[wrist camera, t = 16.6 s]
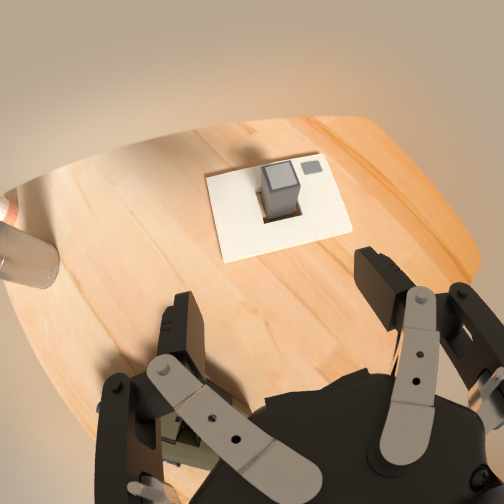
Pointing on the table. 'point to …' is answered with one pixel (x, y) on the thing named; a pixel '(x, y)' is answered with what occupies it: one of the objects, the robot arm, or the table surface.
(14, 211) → the pepper shaker
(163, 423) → the futuristic firearm
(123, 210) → the table surface
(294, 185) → the grey rectangular peg
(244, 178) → the plate
